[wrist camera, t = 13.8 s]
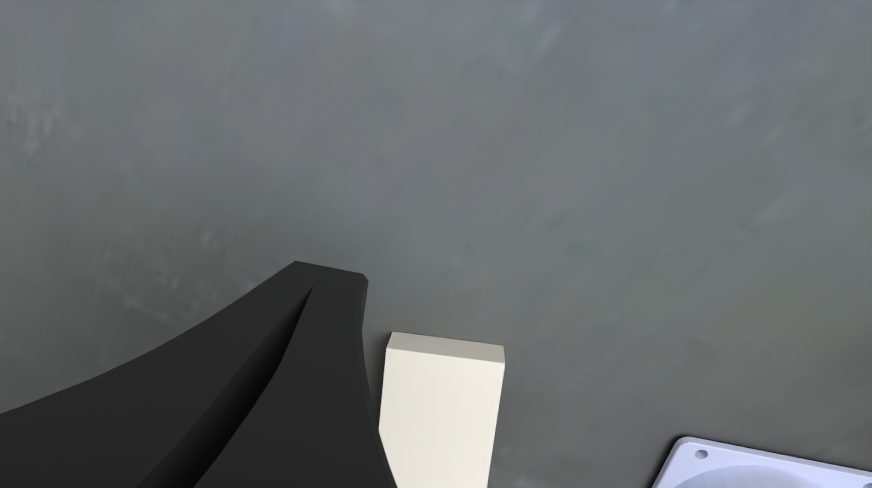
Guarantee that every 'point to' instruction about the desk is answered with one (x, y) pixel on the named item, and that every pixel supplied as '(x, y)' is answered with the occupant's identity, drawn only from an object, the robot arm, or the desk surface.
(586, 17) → the desk surface
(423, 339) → the domino
